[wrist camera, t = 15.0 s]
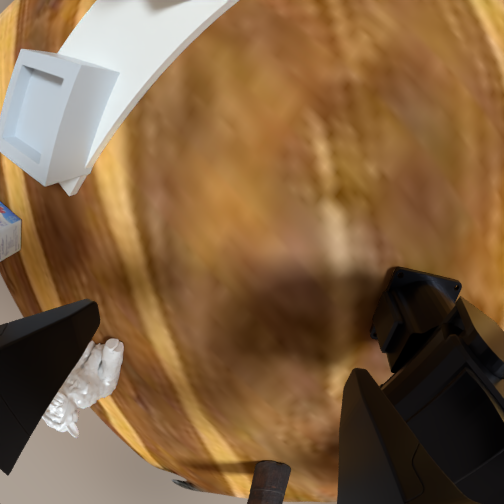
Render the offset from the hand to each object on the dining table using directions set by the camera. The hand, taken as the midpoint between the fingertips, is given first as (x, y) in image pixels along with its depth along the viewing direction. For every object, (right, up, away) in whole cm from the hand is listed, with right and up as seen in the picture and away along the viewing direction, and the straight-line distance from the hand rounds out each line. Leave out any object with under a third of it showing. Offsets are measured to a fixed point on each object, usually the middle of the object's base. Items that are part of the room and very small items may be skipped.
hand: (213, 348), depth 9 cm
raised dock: (-14, +16, +11) cm, 24 cm away
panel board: (-8, +21, +7) cm, 24 cm away
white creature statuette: (-17, -10, +22) cm, 29 cm away
